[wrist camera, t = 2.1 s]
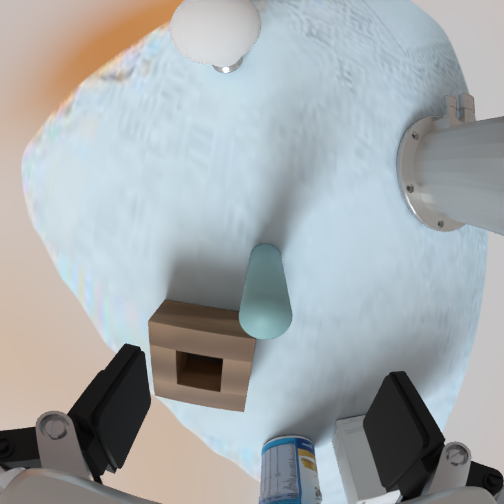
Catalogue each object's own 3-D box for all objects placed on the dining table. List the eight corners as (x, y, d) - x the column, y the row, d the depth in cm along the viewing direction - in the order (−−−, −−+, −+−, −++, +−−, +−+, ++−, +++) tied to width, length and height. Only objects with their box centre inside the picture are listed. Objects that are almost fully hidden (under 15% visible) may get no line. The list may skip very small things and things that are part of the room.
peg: (252, 241, 26) (241, 289, 15) (283, 245, 26) (296, 296, 15) (248, 271, 27) (236, 336, 15) (278, 275, 27) (286, 342, 15)
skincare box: (331, 439, 34) (345, 517, 19) (335, 417, 32) (355, 502, 18) (380, 430, 33) (405, 500, 19) (389, 407, 32) (421, 482, 17)
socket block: (165, 299, 28) (148, 320, 24) (257, 313, 28) (255, 339, 23) (167, 369, 31) (155, 395, 26) (246, 383, 31) (243, 411, 26)
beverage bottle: (269, 430, 33) (267, 551, 14) (323, 435, 33) (340, 547, 14) (255, 456, 35) (248, 559, 16) (303, 461, 35) (311, 558, 16)
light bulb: (203, 101, 23) (165, 55, 12) (189, 49, 22) (151, -8, 11) (270, 82, 22) (273, 24, 12) (251, 31, 21) (244, -35, 10)
